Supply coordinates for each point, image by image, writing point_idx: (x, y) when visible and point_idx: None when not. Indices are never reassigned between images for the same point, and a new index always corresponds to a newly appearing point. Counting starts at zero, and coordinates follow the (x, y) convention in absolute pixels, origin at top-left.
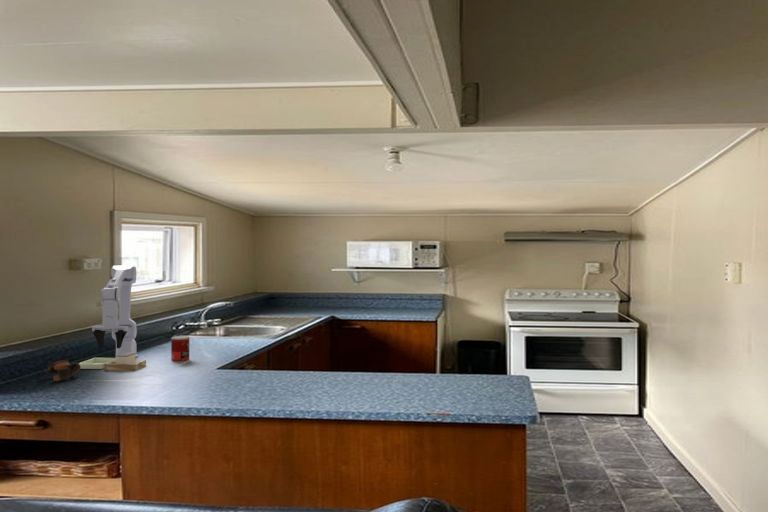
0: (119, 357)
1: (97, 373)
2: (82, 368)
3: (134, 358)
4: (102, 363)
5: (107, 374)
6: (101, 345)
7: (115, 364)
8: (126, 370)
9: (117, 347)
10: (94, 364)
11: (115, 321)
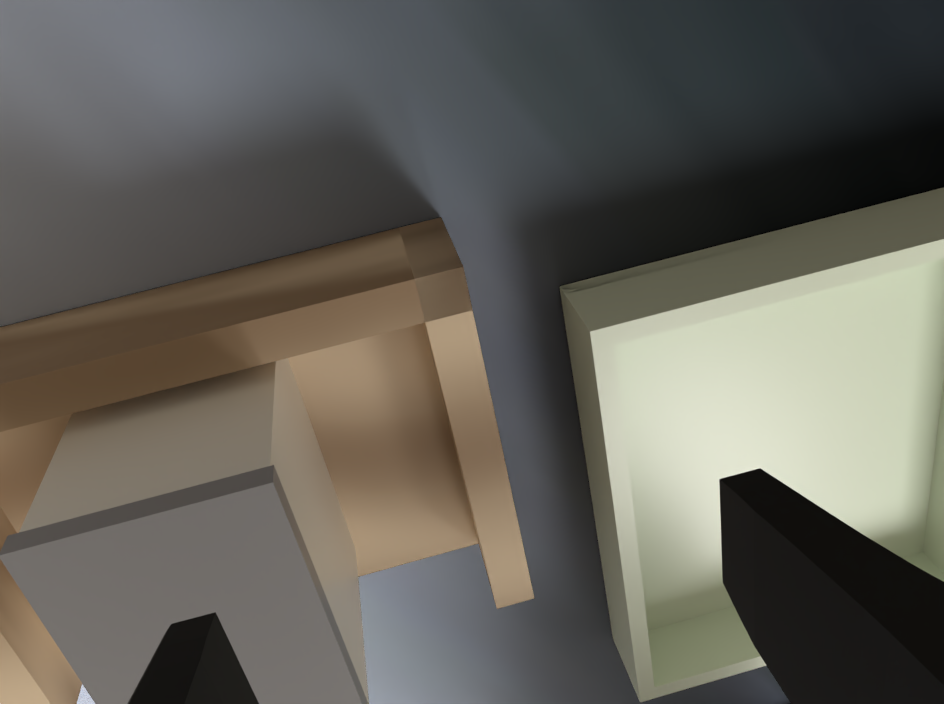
0: (200, 478)
1: (451, 55)
2: (892, 210)
3: None
4: None
5: (188, 35)
6: (755, 559)
7: (234, 328)
8: (26, 328)
9: (182, 634)
10: (727, 292)
11: None
